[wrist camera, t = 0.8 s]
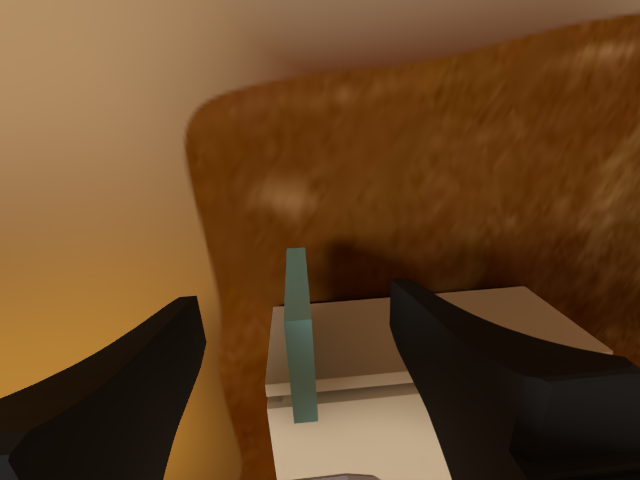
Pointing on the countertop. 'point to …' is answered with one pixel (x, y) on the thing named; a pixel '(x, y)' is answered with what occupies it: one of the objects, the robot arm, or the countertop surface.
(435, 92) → the countertop surface
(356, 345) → the flap
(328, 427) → the carton
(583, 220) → the countertop surface
